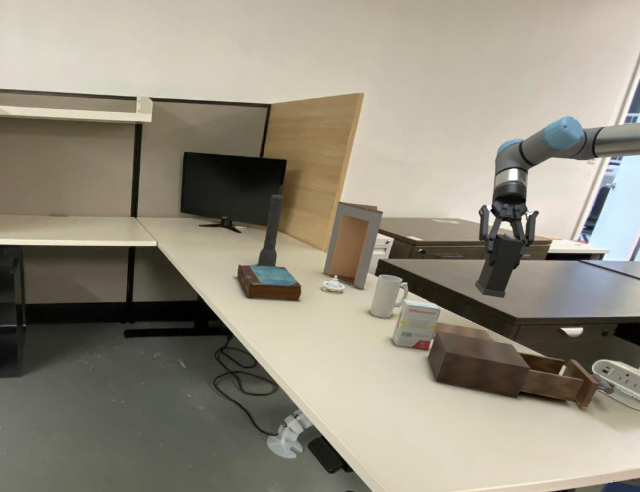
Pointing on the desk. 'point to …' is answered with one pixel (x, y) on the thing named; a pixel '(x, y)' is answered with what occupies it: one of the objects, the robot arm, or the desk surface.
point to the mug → (387, 295)
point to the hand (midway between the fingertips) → (503, 265)
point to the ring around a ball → (333, 285)
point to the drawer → (561, 380)
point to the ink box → (416, 324)
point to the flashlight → (271, 233)
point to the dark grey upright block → (499, 266)
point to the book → (268, 282)
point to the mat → (461, 331)
